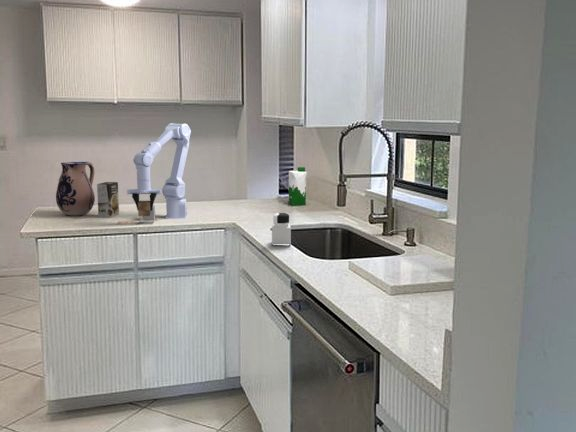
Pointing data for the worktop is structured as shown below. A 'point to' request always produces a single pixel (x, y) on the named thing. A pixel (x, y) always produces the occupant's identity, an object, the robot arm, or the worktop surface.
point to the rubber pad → (144, 222)
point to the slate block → (150, 215)
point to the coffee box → (108, 199)
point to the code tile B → (149, 220)
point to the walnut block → (144, 208)
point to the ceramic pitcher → (75, 189)
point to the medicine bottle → (281, 229)
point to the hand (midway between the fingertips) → (144, 210)
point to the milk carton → (297, 187)
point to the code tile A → (126, 222)
